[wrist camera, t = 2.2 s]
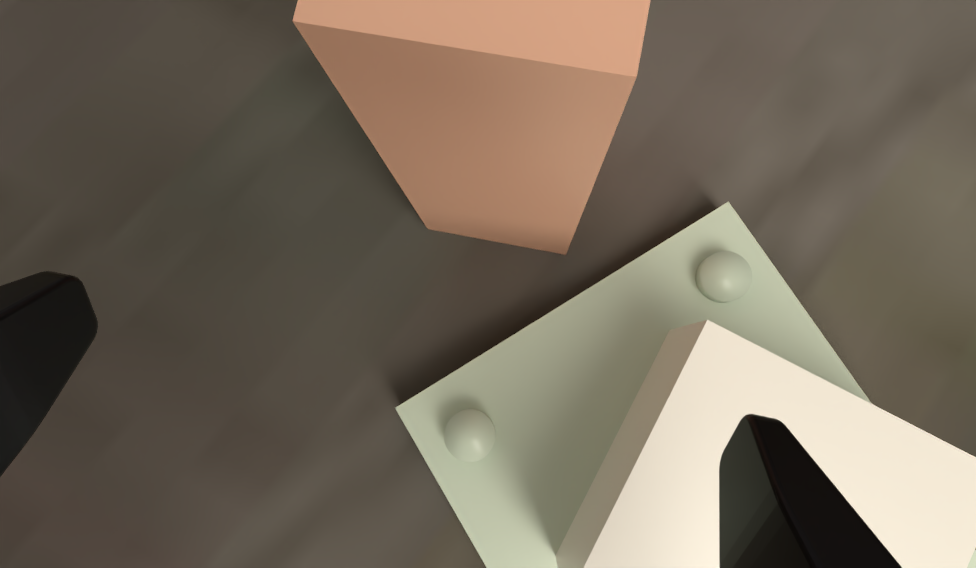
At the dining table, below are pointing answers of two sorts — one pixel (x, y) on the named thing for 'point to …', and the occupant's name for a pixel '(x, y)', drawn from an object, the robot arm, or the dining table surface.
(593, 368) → the tower base
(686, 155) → the dining table surface
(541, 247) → the column brick
